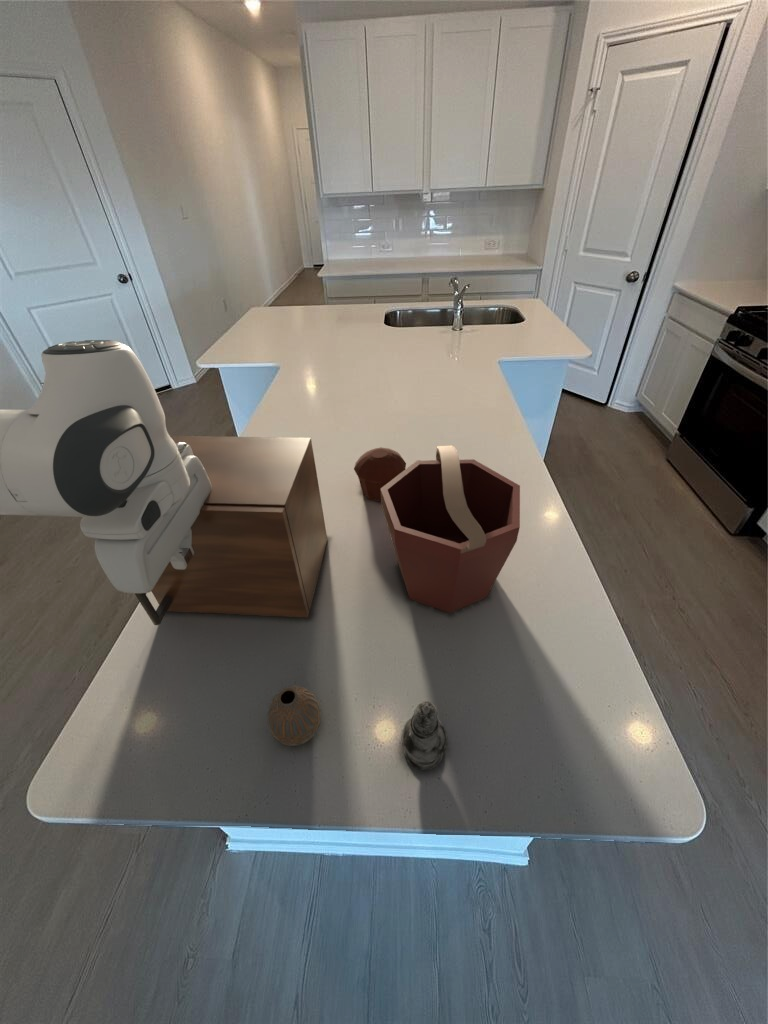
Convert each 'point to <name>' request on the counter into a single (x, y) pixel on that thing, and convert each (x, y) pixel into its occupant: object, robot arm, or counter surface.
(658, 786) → the counter surface
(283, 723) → the vase
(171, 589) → the cupboard door
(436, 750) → the grey stone turned figure
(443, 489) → the bucket
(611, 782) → the counter surface
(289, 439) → the cupboard
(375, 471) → the muffin
